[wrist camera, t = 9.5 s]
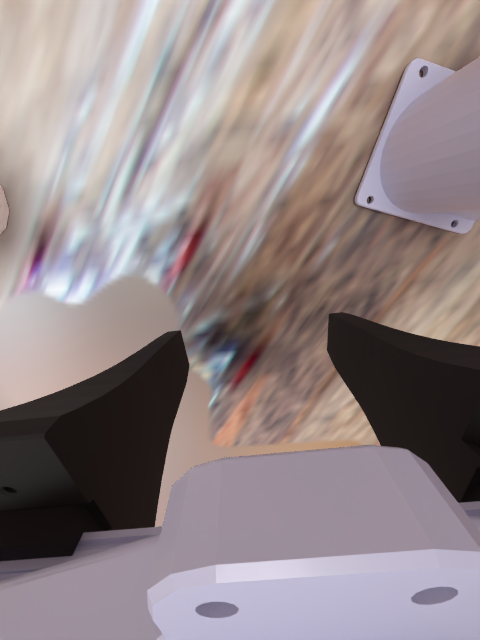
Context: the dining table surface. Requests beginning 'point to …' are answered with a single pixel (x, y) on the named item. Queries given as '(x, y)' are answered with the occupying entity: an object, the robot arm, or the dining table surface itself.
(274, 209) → the dining table surface
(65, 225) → the dining table surface
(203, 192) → the dining table surface
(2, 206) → the foam cup
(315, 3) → the dining table surface
